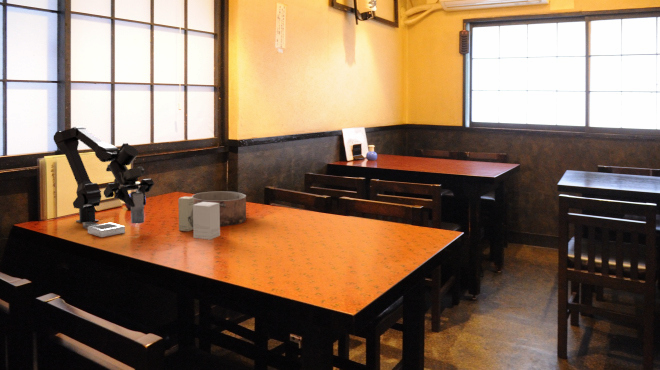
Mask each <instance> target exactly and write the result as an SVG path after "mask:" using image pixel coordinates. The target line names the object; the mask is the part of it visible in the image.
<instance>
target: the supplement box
mask: <svg viewBox="0 0 660 370" xmlns="http://www.w3.org/2000/svg"><path fill="white" fill-rule="evenodd" d="M192 232H193V238H194V239H201V240H209V241H210V240H213V239H215V238H218V237H220V236H221V226H220V206H219V203H213V202H200V203H197V204H194V205H193V231H192Z"/></svg>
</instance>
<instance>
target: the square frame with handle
mask: <svg viewBox="0 0 660 370" xmlns="http://www.w3.org/2000/svg"><path fill="white" fill-rule="evenodd" d="M82 228H83V229H85V230H87V234H90V235H93V236H97V237H100V238H104V237H111V236H115V235H120V234H125V233H126V231H125V230H126V226H125V225H121V224H118V223H114V222H107V223H97V222H90V221H87V222H83V223H82Z"/></svg>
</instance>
